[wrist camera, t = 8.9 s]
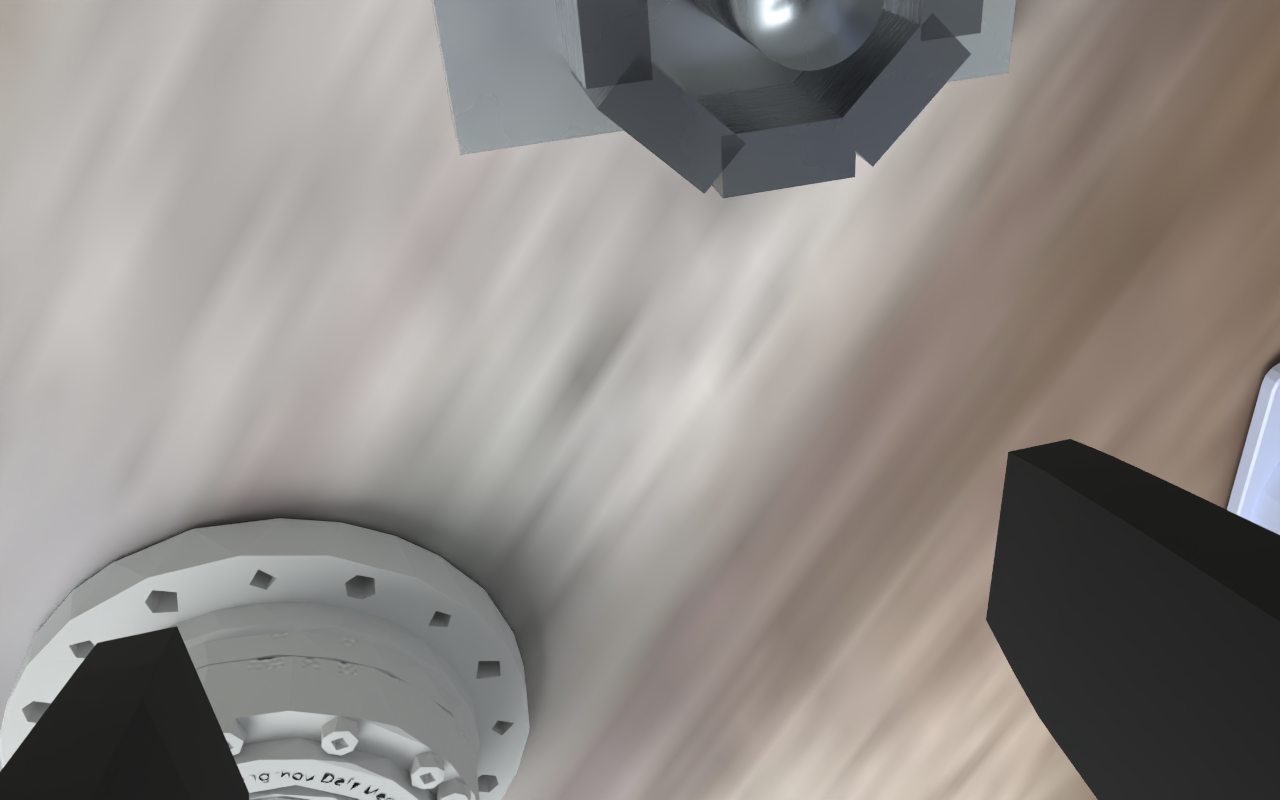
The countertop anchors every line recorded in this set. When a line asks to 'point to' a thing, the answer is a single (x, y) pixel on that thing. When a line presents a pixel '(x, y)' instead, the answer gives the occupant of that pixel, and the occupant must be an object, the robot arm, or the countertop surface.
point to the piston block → (714, 77)
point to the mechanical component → (312, 659)
